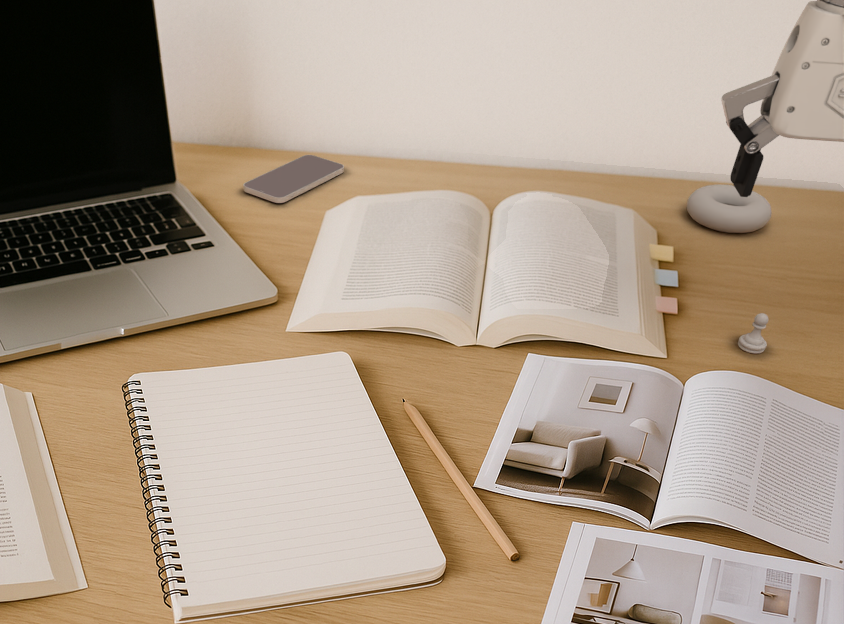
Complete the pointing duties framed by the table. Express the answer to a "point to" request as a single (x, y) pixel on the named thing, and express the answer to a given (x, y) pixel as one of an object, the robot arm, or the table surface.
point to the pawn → (755, 336)
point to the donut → (728, 209)
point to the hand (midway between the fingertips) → (797, 194)
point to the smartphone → (293, 178)
